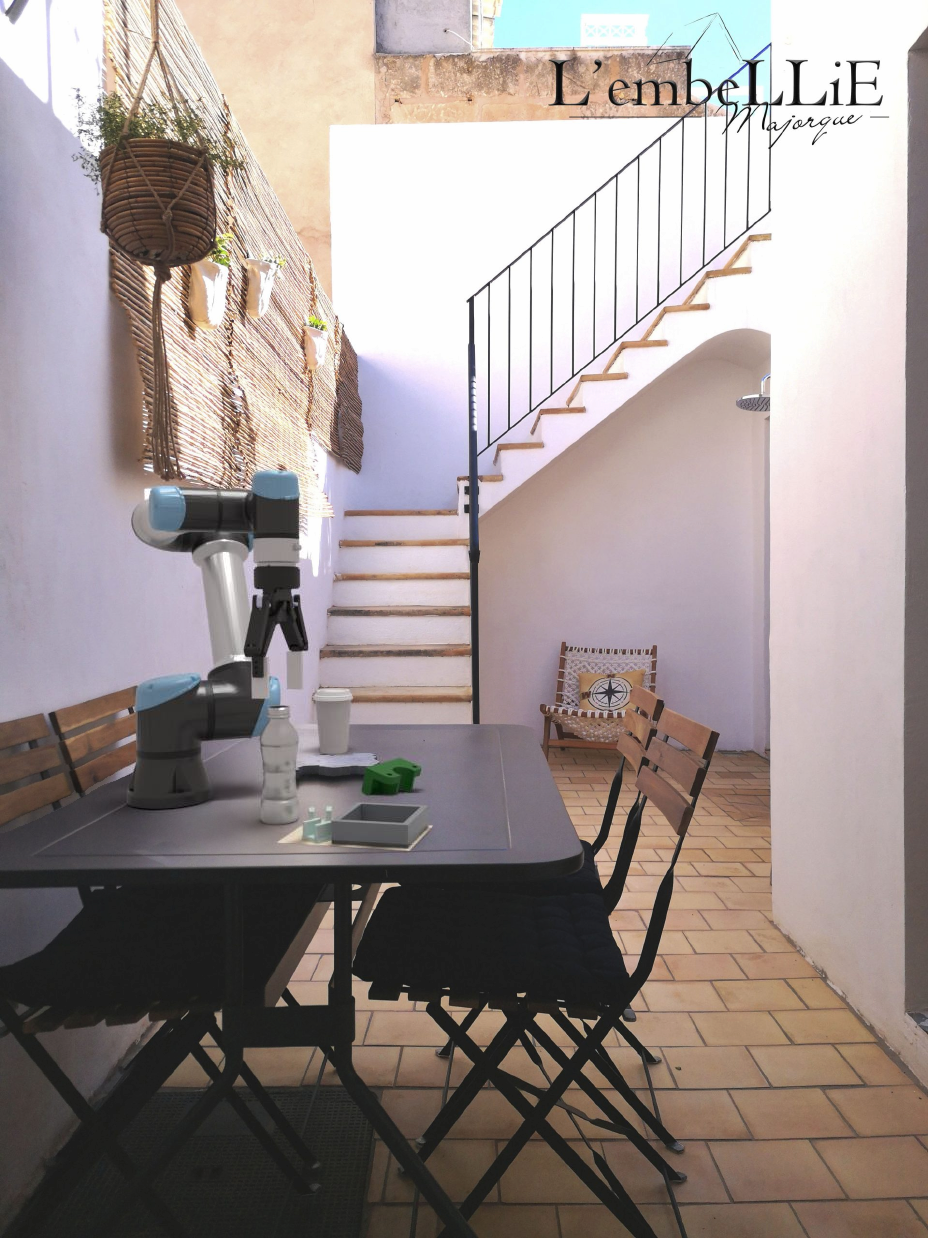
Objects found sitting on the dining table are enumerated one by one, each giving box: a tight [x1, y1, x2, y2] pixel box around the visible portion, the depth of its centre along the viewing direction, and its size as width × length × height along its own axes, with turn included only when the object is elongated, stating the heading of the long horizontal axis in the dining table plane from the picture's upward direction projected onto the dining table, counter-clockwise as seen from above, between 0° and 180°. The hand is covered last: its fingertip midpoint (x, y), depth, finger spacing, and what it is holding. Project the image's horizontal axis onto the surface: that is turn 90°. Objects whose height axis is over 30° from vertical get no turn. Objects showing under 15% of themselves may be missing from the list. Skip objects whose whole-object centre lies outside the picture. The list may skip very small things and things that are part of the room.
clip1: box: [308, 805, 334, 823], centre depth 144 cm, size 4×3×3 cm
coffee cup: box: [313, 687, 354, 755], centre depth 214 cm, size 10×10×15 cm
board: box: [276, 824, 433, 852], centre depth 139 cm, size 21×14×1 cm, turn 78°
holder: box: [331, 801, 429, 848], centre depth 138 cm, size 12×12×4 cm
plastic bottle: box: [259, 704, 301, 826], centre depth 148 cm, size 6×7×20 cm
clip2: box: [302, 817, 332, 844], centre depth 136 cm, size 4×3×3 cm
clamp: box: [361, 757, 422, 796], centre depth 171 cm, size 12×6×9 cm, turn 142°
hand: (278, 693), depth 147 cm, fingers open, 13 cm apart
